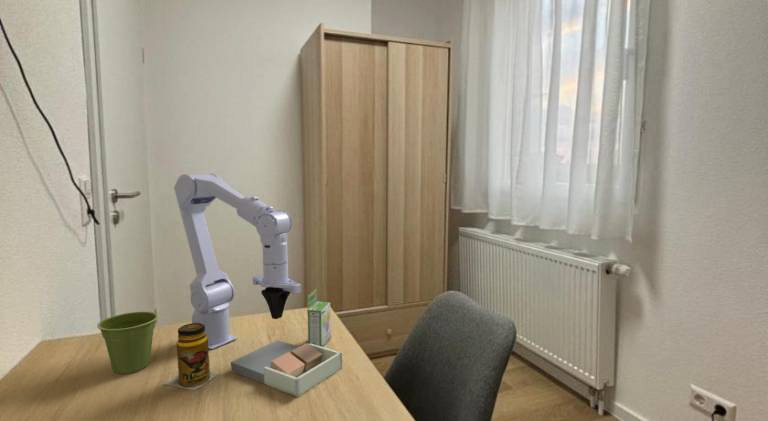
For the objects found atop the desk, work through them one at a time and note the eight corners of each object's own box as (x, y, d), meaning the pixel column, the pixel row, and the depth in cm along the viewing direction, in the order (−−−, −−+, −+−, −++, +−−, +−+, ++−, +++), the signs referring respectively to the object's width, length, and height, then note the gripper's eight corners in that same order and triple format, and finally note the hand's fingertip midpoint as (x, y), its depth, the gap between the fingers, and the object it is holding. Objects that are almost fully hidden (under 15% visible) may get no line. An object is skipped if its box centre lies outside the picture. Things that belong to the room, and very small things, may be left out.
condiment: (195, 391, 85) (192, 334, 84) (162, 384, 87) (159, 330, 86) (219, 374, 92) (217, 321, 90) (188, 368, 94) (185, 318, 93)
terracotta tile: (269, 370, 89) (271, 361, 88) (286, 361, 93) (288, 352, 92) (285, 383, 86) (288, 373, 86) (302, 373, 90) (304, 364, 90)
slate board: (231, 370, 93) (230, 361, 93) (278, 347, 105) (277, 340, 105) (264, 383, 87) (264, 374, 87) (310, 357, 99) (310, 349, 99)
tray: (264, 383, 87) (263, 367, 87) (310, 357, 99) (310, 343, 99) (297, 397, 82) (297, 379, 82) (342, 367, 94) (341, 352, 94)
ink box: (322, 348, 104) (321, 297, 103) (307, 347, 105) (306, 296, 103) (331, 337, 111) (330, 289, 109) (317, 336, 112) (316, 288, 110)
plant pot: (169, 366, 96) (166, 319, 94) (109, 386, 87) (105, 334, 86) (151, 351, 104) (148, 307, 102) (94, 367, 95) (91, 320, 94)
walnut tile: (289, 360, 93) (291, 350, 93) (304, 351, 98) (307, 342, 97) (305, 372, 91) (307, 362, 90) (320, 363, 95) (322, 354, 95)
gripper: (241, 261, 99) (243, 316, 100) (284, 269, 91) (286, 329, 92) (264, 256, 105) (266, 308, 106) (307, 263, 97) (308, 319, 98)
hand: (277, 317), depth 99 cm, fingers closed
